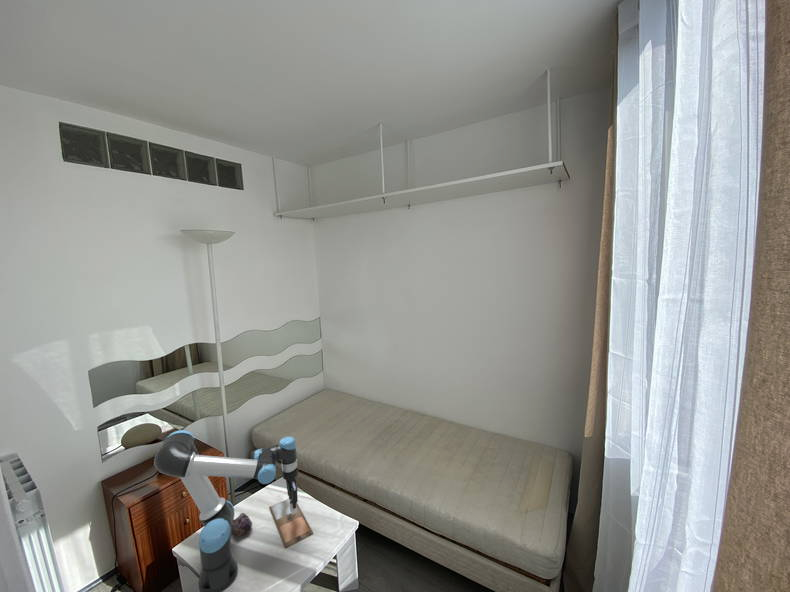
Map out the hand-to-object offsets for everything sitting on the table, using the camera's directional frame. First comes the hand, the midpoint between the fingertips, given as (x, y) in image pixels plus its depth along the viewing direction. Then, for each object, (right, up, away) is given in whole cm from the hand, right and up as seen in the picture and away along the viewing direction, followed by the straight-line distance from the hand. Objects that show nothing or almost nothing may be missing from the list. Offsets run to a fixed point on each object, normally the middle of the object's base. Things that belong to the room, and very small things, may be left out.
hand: (293, 511), depth 165 cm
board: (-4, -9, +7) cm, 13 cm away
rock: (-30, -3, -2) cm, 30 cm away
